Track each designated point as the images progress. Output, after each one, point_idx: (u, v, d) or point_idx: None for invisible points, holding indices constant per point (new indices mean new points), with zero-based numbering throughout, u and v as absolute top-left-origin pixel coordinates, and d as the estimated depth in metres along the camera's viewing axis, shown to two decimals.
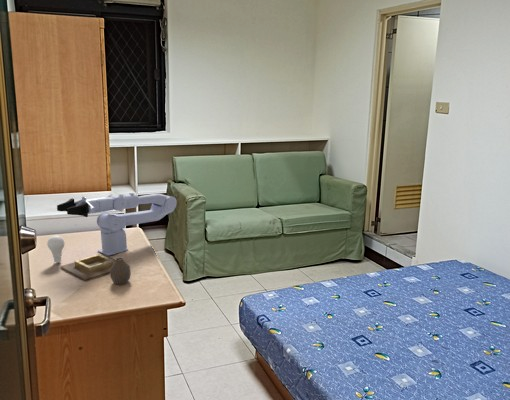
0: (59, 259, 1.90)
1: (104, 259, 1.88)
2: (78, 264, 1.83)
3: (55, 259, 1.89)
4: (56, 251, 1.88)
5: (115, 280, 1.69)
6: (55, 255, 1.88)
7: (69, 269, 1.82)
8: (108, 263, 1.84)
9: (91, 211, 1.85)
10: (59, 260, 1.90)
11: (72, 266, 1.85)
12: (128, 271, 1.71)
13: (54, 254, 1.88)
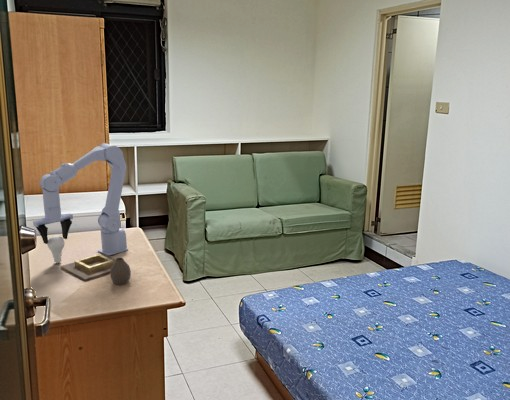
0: (59, 259, 1.90)
1: (104, 259, 1.88)
2: (78, 264, 1.83)
3: (55, 259, 1.89)
4: (56, 251, 1.88)
5: (115, 280, 1.69)
6: (55, 255, 1.88)
7: (69, 269, 1.82)
8: (108, 263, 1.84)
9: (35, 225, 1.81)
10: (59, 260, 1.90)
11: (72, 266, 1.85)
12: (128, 271, 1.71)
13: (54, 254, 1.88)
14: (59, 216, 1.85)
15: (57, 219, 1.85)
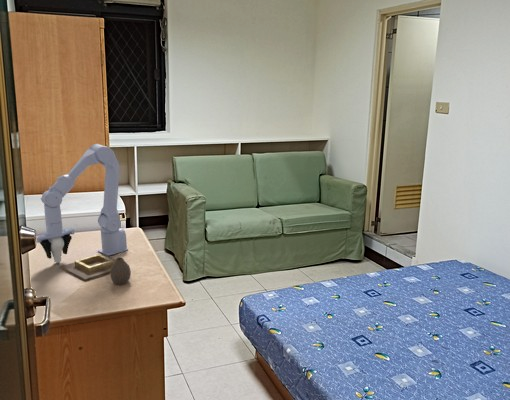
0: (59, 259, 1.90)
1: (104, 259, 1.88)
2: (78, 264, 1.83)
3: (55, 259, 1.89)
4: (56, 251, 1.87)
5: (115, 280, 1.69)
6: (55, 255, 1.88)
7: (69, 269, 1.82)
8: (108, 263, 1.84)
9: (37, 241, 1.83)
10: (59, 260, 1.90)
11: (72, 266, 1.85)
12: (128, 271, 1.71)
13: (54, 254, 1.88)
14: (61, 231, 1.87)
15: (59, 234, 1.86)
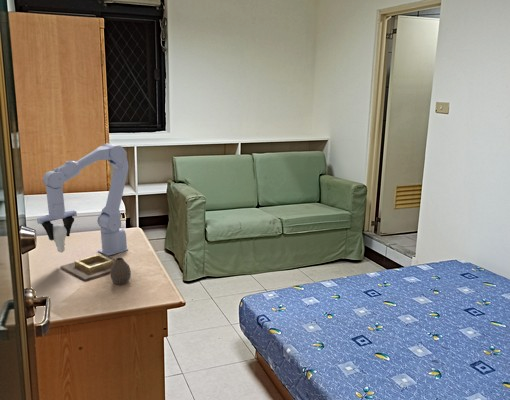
0: (62, 248, 1.88)
1: (104, 259, 1.88)
2: (78, 264, 1.83)
3: (58, 248, 1.87)
4: (58, 240, 1.86)
5: (115, 280, 1.69)
6: (58, 244, 1.87)
7: (69, 269, 1.82)
8: (108, 263, 1.84)
9: (39, 222, 1.80)
10: (62, 249, 1.88)
11: (72, 266, 1.85)
12: (128, 271, 1.71)
13: (57, 243, 1.87)
14: (63, 213, 1.85)
15: (61, 216, 1.84)
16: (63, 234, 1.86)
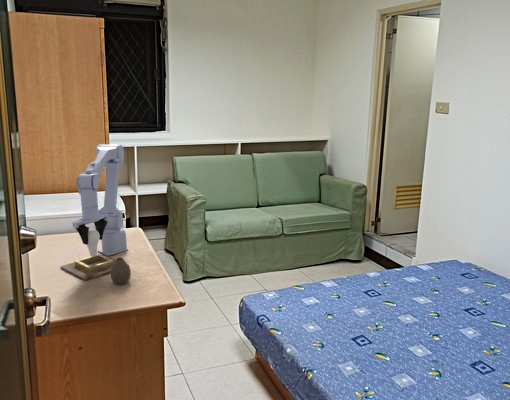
0: (95, 253, 1.84)
1: (104, 259, 1.88)
2: (78, 264, 1.83)
3: (91, 253, 1.83)
4: (92, 244, 1.82)
5: (115, 280, 1.69)
6: (91, 249, 1.83)
7: (69, 269, 1.82)
8: (108, 263, 1.84)
9: (75, 226, 1.76)
10: (95, 254, 1.84)
11: (72, 266, 1.85)
12: (128, 271, 1.71)
13: (90, 248, 1.83)
14: (97, 216, 1.81)
15: (96, 219, 1.80)
16: (97, 238, 1.82)
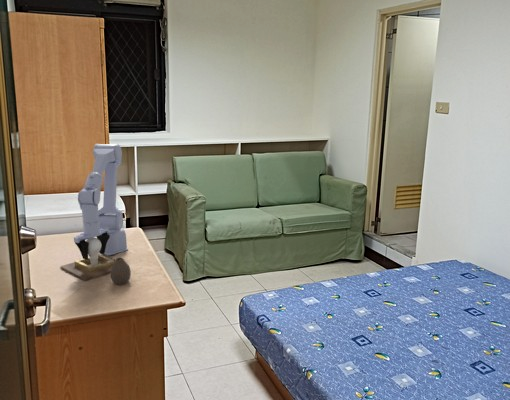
0: (96, 262, 1.85)
1: (104, 259, 1.88)
2: (78, 264, 1.83)
3: (92, 262, 1.84)
4: (94, 253, 1.83)
5: (115, 280, 1.69)
6: (92, 258, 1.83)
7: (69, 269, 1.82)
8: (108, 263, 1.84)
9: (76, 241, 1.77)
10: (96, 263, 1.85)
11: (72, 266, 1.85)
12: (128, 271, 1.71)
13: (91, 257, 1.83)
14: (99, 231, 1.82)
15: (97, 234, 1.81)
16: (99, 248, 1.83)
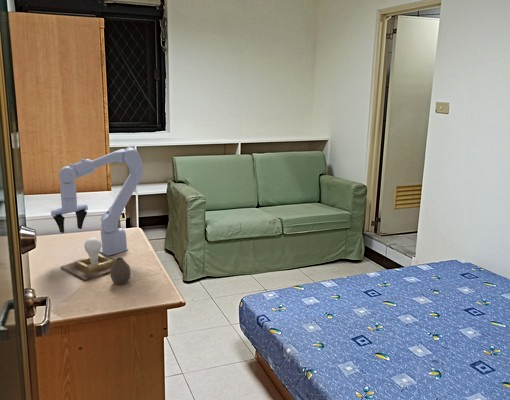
0: (96, 262, 1.85)
1: (104, 259, 1.88)
2: (78, 264, 1.83)
3: (92, 262, 1.84)
4: (94, 253, 1.83)
5: (115, 280, 1.69)
6: (92, 258, 1.83)
7: (69, 269, 1.82)
8: (108, 263, 1.84)
9: (52, 215, 1.89)
10: (96, 263, 1.85)
11: (72, 266, 1.85)
12: (128, 271, 1.71)
13: (91, 257, 1.83)
14: (75, 206, 1.93)
15: (73, 209, 1.93)
16: (99, 248, 1.83)
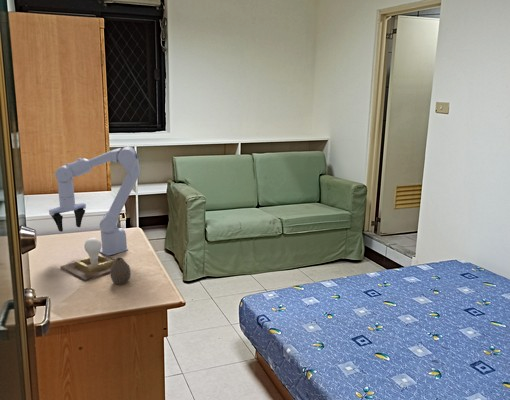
0: (96, 262, 1.85)
1: (104, 259, 1.88)
2: (78, 264, 1.83)
3: (92, 262, 1.84)
4: (94, 253, 1.83)
5: (115, 280, 1.69)
6: (92, 258, 1.83)
7: (69, 269, 1.82)
8: (108, 263, 1.84)
9: (50, 214, 1.91)
10: (96, 263, 1.85)
11: (72, 266, 1.85)
12: (128, 271, 1.71)
13: (91, 257, 1.83)
14: (73, 205, 1.95)
15: (71, 208, 1.95)
16: (99, 248, 1.83)
